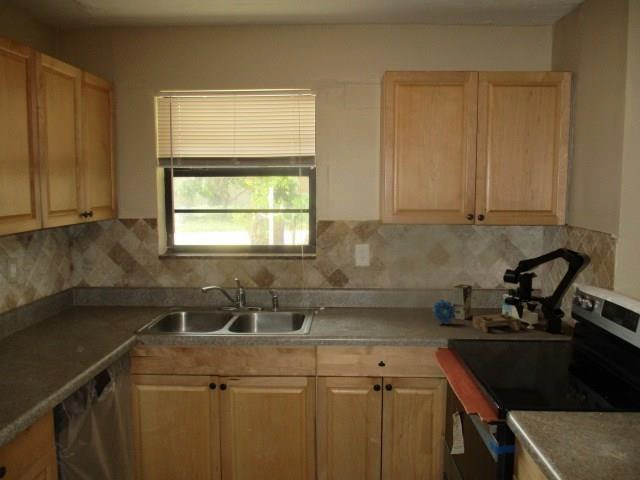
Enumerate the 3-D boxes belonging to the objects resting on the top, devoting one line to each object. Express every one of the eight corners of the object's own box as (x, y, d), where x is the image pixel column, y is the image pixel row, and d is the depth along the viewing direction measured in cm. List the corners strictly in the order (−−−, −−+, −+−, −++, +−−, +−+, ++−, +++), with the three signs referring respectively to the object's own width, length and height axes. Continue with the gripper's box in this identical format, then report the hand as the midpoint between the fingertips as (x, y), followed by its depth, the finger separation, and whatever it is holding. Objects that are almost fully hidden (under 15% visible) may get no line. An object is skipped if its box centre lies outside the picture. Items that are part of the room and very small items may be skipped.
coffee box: (464, 320, 260) (465, 288, 258) (452, 318, 263) (452, 286, 262) (471, 316, 267) (472, 285, 265) (458, 314, 271) (459, 283, 269)
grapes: (434, 326, 248) (435, 301, 246) (430, 323, 254) (430, 298, 253) (458, 325, 249) (459, 301, 248) (453, 322, 256) (453, 297, 254)
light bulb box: (501, 314, 271) (502, 294, 269) (511, 313, 273) (512, 293, 272) (517, 319, 261) (518, 298, 260) (527, 318, 264) (528, 297, 263)
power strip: (518, 321, 258) (519, 307, 257) (537, 328, 244) (537, 313, 243) (511, 321, 257) (511, 307, 256) (529, 329, 243) (530, 314, 242)
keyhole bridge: (519, 329, 242) (519, 319, 242) (485, 332, 238) (485, 321, 237) (505, 323, 253) (505, 313, 252) (472, 326, 248) (472, 316, 248)
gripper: (531, 281, 258) (530, 313, 260) (498, 283, 254) (497, 315, 255) (547, 286, 248) (545, 318, 249) (512, 288, 243) (511, 321, 245)
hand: (524, 318), depth 250 cm, fingers closed on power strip, 4 cm apart
